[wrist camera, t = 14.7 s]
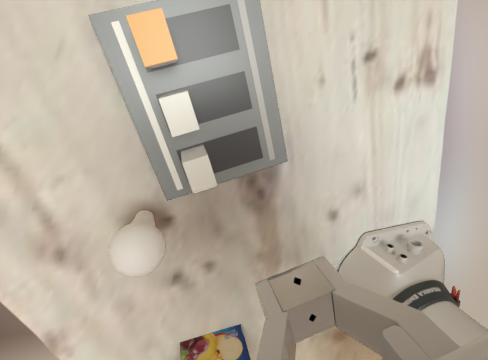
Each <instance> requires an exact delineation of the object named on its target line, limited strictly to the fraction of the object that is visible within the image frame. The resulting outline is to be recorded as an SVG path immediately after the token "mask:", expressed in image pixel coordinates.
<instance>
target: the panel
mask: <svg viewBox="0 0 488 360" xmlns="http://www.w3.org/2000/svg"><path fill="white" fill-rule="evenodd" d="M158 8H162V10H163V13H164V16H165V20H166V23H167V26H168V29H169V32H170V35H171V39H172V42H173V45H174V48H175V51H176V54H177V58H178V60H177V62H176V63H172V64H168V65H164V66H160V67H156V68H152V69H149V68H147V67H145V66H144V63H143V61H142V58H141V55H140V53H139V50H138V47H137V45H136V42H135V39H134V36H133V34H132V31H131V28H130V26H129V23H128V20H127V18H126V15H131V14H135V13H140V12H145V11H149V10H154V9H158ZM88 16H89V18H90V21H91V23H92V25H93V28H94V30H95V32H96V35H97V37H98V39H99V42H100V44H101V46H102V49H103V51H104V54H105V56H106V58H107V61H108V63H109V65H110V68H111V70H112V72H113V75H114V77H115V79H116V82H117V84H118V86H119V89H120V91H121V94H122V96H123V98H124V101H125V103H126V105H127V108H128V110H129V112H130V115H131V117H132V119H133V122H134V124H135V126H136V129H137V131H138V134H139V136H140V138H141V141H142V143H143V145H144V148H145V150H146V152H147V155H148V157H149V159H150V162H151V164H152V166H153V169H154V171H155V174H156V176H157V178H158V181H159V183H160V185H161V188H162V190H163V192H164V195H165V197H166V199H167V201H168V200H171V199H174V198H177V197H180V196H183V195H186V194H189V193H193V194H195V193H198V192H201V191H204V190H207V189H210V188H213V187H216V186H218V185H217V184H220V183H223V182H226V181H229V180H232V179H235V178H238V177H241V176H244V175H247V174H250V173H253V172H256V171H259V170H262V169H265V168H268V167H272V166H275V165H278V164H281V163H284V162H287V161H288V160H287V155H286V149H285V143H284V137H283V132H282V126H281V120H280V114H279V108H278V103H277V97H276V91H275V85H274V80H273V74H272V68H271V62H270V57H269V51H268V45H267V39H266V34H265V28H264V22H263V16H262V10H261V5H260V0H156V1H152V2H147V3H142V4H138V5H133V6H128V7H124V8H119V9H114V10H110V11H105V12H100V13H96V14H91V15H88Z"/></svg>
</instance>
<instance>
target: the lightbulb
mask: <svg viewBox="0 0 488 360" xmlns="http://www.w3.org/2000/svg"><path fill="white" fill-rule="evenodd" d="M165 248H166V244H165V240H164V237H163V234H162V233H161V232H160V230H159V229H157V228H156V227H155V222H154V216H153V214H152V213H151V212H150V211H147V210H143V211H140V212H138V213H137V214H136V216H135V218H134V219H133V220H132V222H131V223H130V224H128V225H126V226H124V227H122V228H121V229H119V230H118V231H117V233H116V234H115V235H114V236H113V238H112V239H111V241H110V244H109V250H108V255H109V260H110V262H111V264H112V266H113V267H114V268H115V269H116V270H117V271H118V272H119V273H121V274H123V275H127V276H132V277H133V276H142V275H145V274H147V273H149V272H151V271H152V270H154V269H155V268H156V267H157V266H158V265H159V264H160V262H161V261H162V259H163V257H164V254H165Z"/></svg>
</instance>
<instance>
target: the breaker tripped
mask: <svg viewBox="0 0 488 360" xmlns="http://www.w3.org/2000/svg"><path fill="white" fill-rule="evenodd" d="M126 18H127V20H128V23H129V26H130V28H131V31H132V34H133V36H134V39H135V42H136V45H137V47H138V50H139V53H140V55H141V58H142V61H143V63H144V66H145V67H147V68H149V69H152V68H156V67H160V66H164V65H168V64H172V63H176V62H177V60H178V58H177V54H176V51H175V48H174V45H173V42H172V39H171V35H170V32H169V29H168V26H167V23H166V20H165V16H164V13H163V10H162V8H158V9H154V10H149V11H145V12H140V13H135V14H131V15H126Z"/></svg>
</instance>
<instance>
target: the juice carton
mask: <svg viewBox="0 0 488 360" xmlns="http://www.w3.org/2000/svg"><path fill="white" fill-rule="evenodd" d="M180 348H181V360H250V356H249V353H248V349H247V345H246V342H245V338H244V334H243V331H242V327H241V324H239V325H236V326H233V327H230V328H226V329H223V330H220V331H216V332H213V333H210V334H206V335H203V336H200V337H196V338H193V339H190V340H186V341H183V342H180Z"/></svg>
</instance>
